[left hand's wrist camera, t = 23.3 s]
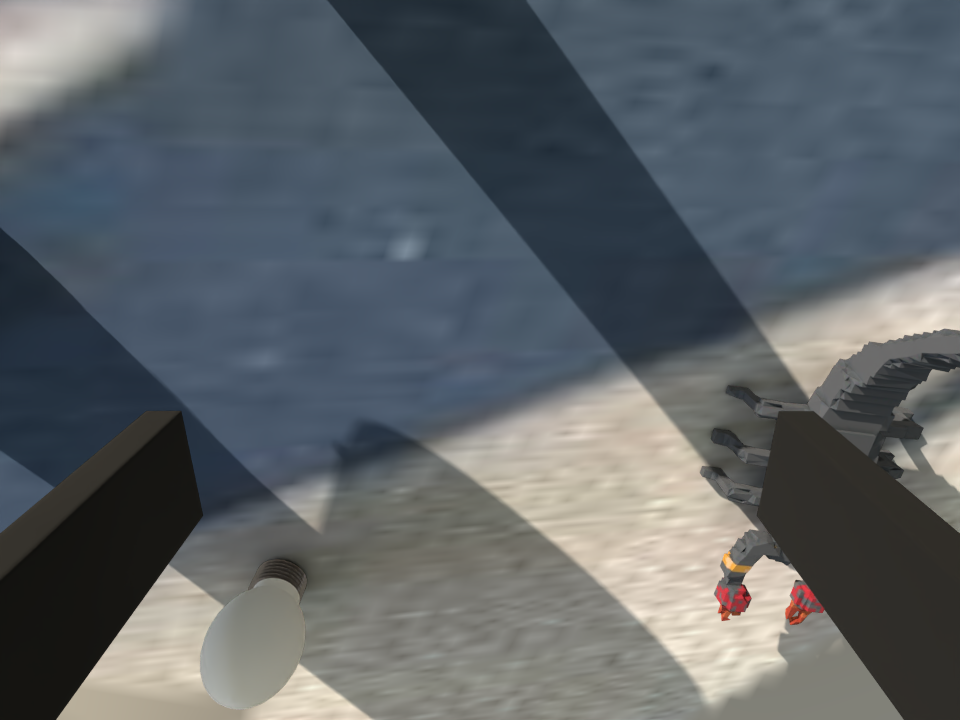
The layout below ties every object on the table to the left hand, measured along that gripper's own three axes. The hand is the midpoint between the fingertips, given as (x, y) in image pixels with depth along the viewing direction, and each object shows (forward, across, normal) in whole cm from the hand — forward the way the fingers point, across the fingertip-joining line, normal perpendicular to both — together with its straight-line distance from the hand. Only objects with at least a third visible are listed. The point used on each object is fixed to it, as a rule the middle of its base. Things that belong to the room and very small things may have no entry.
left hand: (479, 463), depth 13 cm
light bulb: (+27, -16, -27) cm, 41 cm away
